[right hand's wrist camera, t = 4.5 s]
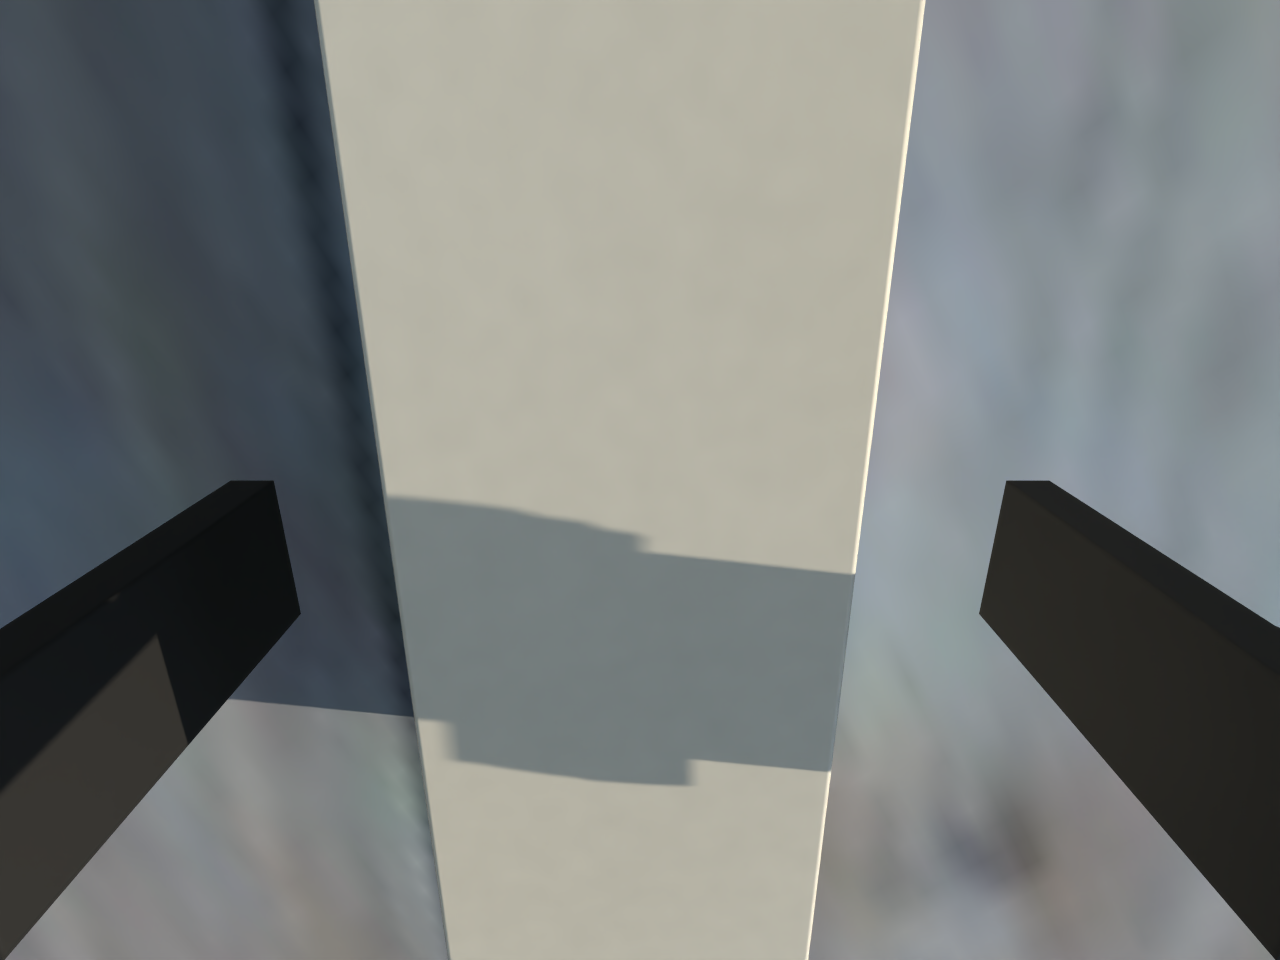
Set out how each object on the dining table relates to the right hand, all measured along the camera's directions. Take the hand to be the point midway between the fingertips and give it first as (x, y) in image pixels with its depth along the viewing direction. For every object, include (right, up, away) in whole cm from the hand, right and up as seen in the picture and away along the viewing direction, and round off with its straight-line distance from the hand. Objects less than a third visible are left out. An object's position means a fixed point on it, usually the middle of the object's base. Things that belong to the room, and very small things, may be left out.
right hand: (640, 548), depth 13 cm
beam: (0, +24, -5) cm, 24 cm away
